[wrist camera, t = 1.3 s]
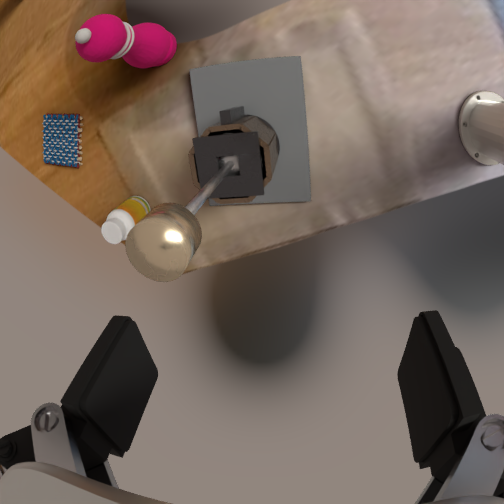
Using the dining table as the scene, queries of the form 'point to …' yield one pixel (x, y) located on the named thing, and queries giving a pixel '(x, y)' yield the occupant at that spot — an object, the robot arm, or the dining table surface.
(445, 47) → the dining table surface
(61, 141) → the woven mat
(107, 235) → the supplement bottle
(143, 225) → the plunger
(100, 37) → the pepper mill
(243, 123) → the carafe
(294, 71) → the slate board
